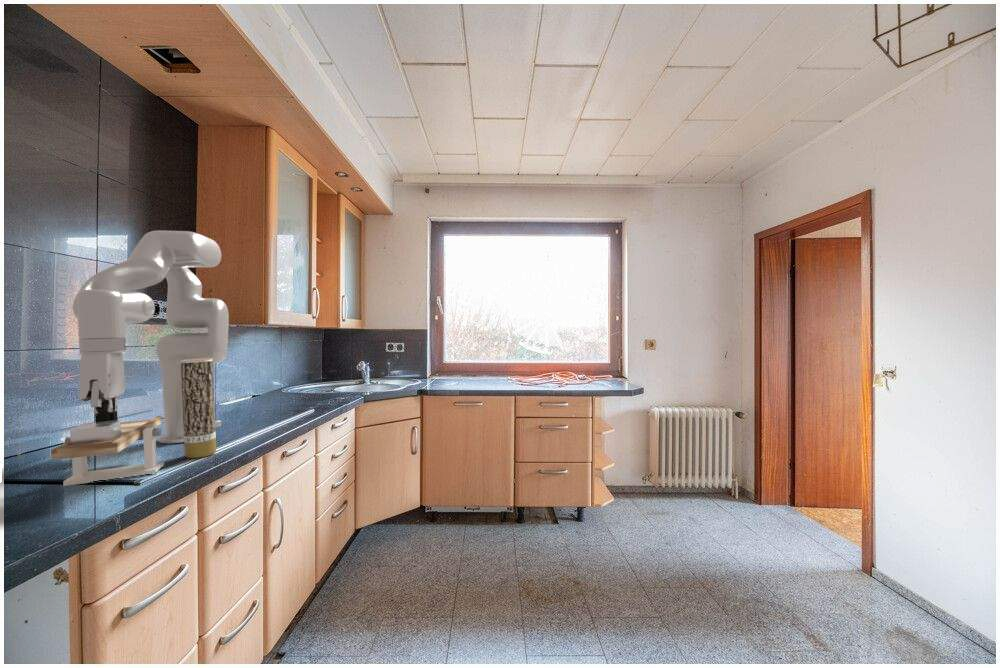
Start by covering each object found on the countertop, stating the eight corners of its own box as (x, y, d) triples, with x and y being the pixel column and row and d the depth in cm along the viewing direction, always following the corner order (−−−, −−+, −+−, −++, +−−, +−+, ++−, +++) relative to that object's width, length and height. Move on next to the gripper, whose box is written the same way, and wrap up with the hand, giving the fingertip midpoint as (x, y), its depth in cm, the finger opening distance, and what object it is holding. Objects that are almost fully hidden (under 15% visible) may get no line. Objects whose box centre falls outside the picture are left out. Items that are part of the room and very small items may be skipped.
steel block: (85, 441, 91) (84, 423, 91) (121, 438, 94) (120, 420, 94) (71, 449, 86) (69, 429, 86) (109, 445, 88) (108, 426, 88)
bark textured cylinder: (188, 453, 114) (184, 359, 114) (218, 449, 117) (215, 357, 116) (181, 460, 108) (177, 361, 107) (213, 456, 111) (209, 359, 110)
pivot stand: (75, 477, 98) (73, 433, 97) (165, 465, 104) (163, 424, 104) (61, 486, 92) (59, 439, 92) (157, 473, 99) (155, 430, 99)
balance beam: (113, 439, 109) (112, 418, 109) (162, 434, 113) (161, 414, 113) (52, 475, 83) (51, 447, 83) (118, 467, 87) (116, 441, 87)
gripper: (96, 346, 99) (100, 425, 100) (62, 349, 86) (67, 441, 86) (137, 344, 102) (141, 421, 103) (110, 347, 89) (114, 436, 89)
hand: (107, 430), depth 95 cm, fingers closed
